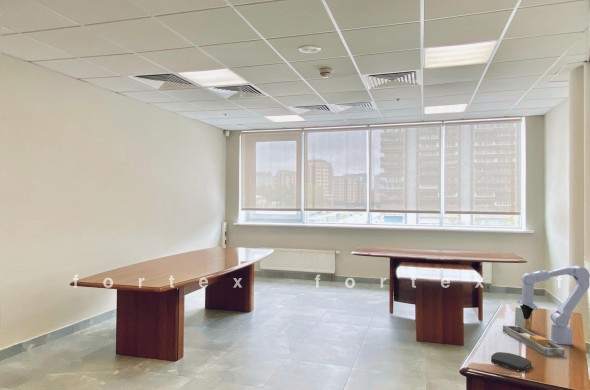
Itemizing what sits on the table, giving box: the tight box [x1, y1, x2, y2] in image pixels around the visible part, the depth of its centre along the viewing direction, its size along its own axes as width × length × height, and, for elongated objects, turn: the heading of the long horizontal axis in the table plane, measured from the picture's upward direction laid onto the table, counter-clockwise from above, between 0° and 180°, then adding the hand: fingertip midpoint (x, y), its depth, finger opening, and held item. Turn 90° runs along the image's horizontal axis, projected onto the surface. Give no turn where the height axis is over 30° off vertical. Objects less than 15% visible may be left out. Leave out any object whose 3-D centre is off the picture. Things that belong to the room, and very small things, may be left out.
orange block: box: [530, 335, 549, 346], centre depth 208 cm, size 6×6×3 cm
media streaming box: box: [490, 351, 532, 372], centre depth 183 cm, size 15×15×3 cm
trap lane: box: [502, 324, 565, 357], centre depth 214 cm, size 10×36×4 cm, turn 3°
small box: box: [514, 305, 533, 331], centre depth 240 cm, size 8×6×13 cm
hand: (526, 318), depth 223 cm, fingers closed
